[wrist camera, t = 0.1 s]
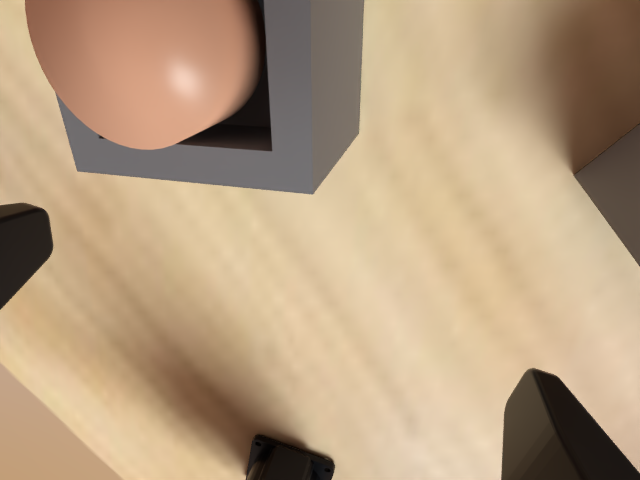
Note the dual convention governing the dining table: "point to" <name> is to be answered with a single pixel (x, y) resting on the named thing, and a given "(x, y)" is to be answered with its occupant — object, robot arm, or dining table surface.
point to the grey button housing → (617, 188)
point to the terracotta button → (149, 63)
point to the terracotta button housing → (263, 111)
